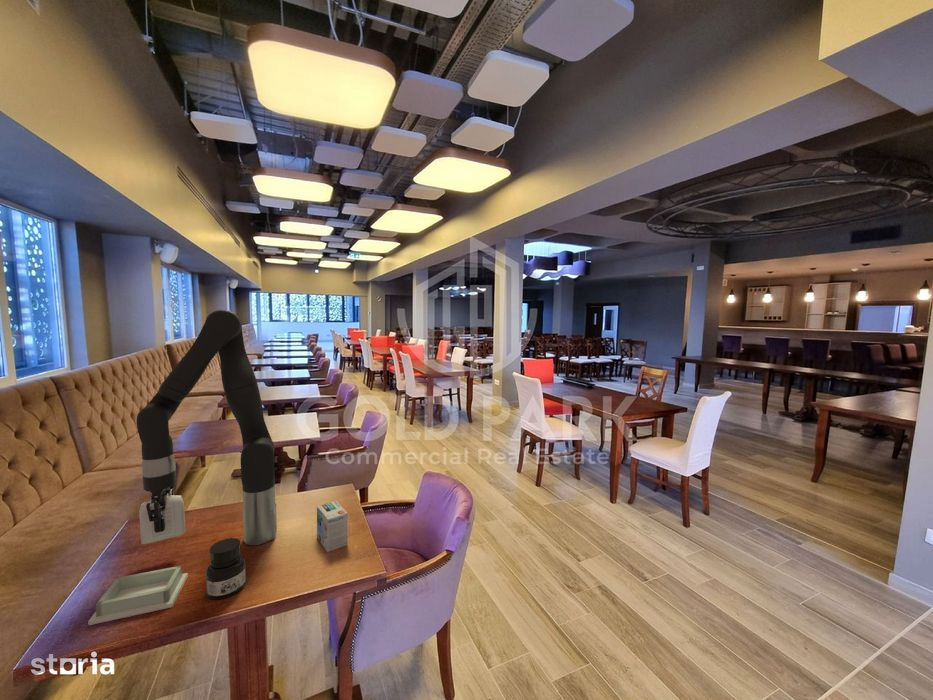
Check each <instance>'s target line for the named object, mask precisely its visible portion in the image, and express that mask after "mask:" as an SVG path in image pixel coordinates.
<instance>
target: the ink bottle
mask: <svg viewBox="0 0 933 700" xmlns="http://www.w3.org/2000/svg"><path fill="white" fill-rule="evenodd" d="M241 547H242V546H241V540H240V538H237V537H236V538H235V537H230V538H224V539H221V540H219V541H217V542H214V543H213V544H212V545H211V546H210V548H209V559H210V562H209V563H210V564H209V565H208V566H207V567H206V570H205V582H206V583H205V590H206V596H207V597H208V598H209V599H212V600H220V599H224V598H225V599H226V598H229V597H230V596H233V595H235V594H237V593H238V592H240V591H241V590H242V589H243V588H244V587H245V585H246V583H247V582H246V581H247V577H246V576H247V575H246V559H245V557H244V556H243V555H241V550H242V549H241Z"/></svg>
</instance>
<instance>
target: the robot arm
mask: <svg viewBox="0 0 933 700" xmlns="http://www.w3.org/2000/svg"><path fill="white" fill-rule="evenodd" d="M217 354H218V356H219V357H218V358H219V361H220V362H219V364H220V365H219V366H220V376H221V377H220V378H221V382H222V383H221V384H222V387H223V388H222V389H223V392H224V395H225V400H226V403H227V404H228V405H227V406H228V408H229V409H230V411H231V413H232V415H233V417H234V418H235V421H236V422H237V424H238V426H239V430H240V434H241V440H242V451H241V452H240V479H241V481H240V482H241V484H242V485H241V486H242V519H243V542H244V544H245V545H248V546H259V545H263V544H265V543H268V542H270V541H272V540H276V535H277V503H276V483H275V482H276V479H275V478H276V477H275V444H274V441H273V439H272V436H271V435H270V432H269V429H268V426H267V425H266V421H265V417H264V412H263V404H262V399H261V393H260V389H259V385H258V382H257V381H258V380H257V377H256V374H255V372H254V370H253V366H252V364H251V361H250V359H249V357H248V354H247V351H246V346H245V342H244V334H243V323H242V320H241V318H240V316H238V314H237V313H235V312H233V311H231V310H227V309H216V310H213V311H212V312H211V313H209V314H208V315H207V316H206V319H205V321H204V323H203V326H202V327H201V330H200V332H199V334H198V335H197V338H195V341H194V342H193V344H192V345H191V347H190V348H189V349H188V350H187V352H186V353H185V354H184V355H183V357H182V358H181V359H180V361H178V362H177V364H176V365H175V367H173V369H171V371H170V372H169V374H168V375H167V377H165V379H164V380H163V382H162V383H161V385H160V386H159V388H158V391H156V393H155V394H154V395H153V397H152V398H151V399H150V401H149V402H148V403H147V404H146V406H144V407H143V408H142V409H141V410H139V412H138V413H137V414H136V415H137V416H136V429H137V433H138V437H139V439H140V443H141V459H142V460H141V461H142V462H141V473H142V474H141V476H142V486H143V487H142V488H143V491H146V492H149V493H151V495H150V497H149V500H150V502H151V503H147V505H146V508H147V512H148V517H149V521H150V522H152V521H154V530H155V532H156V533H157V532H163V531H164V530H165V522H164V511H165V510H166V509H167V499H168V496H170V495H175V485H176V483H177V470H176V469H177V467H176V458H175V454H174V443H173V438H172V436H171V435H170V429H169V427H170V426H169V422H170V420H171V418H172V417H173V415H174V414H175V413H176V411H177V409H178V408H179V407H180V405H181V404H182V402H183V401H184V400H185V399H186V397H188V395H189V394H190V393H191V392H192V390H193V388H194V387H195V386H196V385H197V383H198V382H199V380H200V378H201V377H203V375H204V372H205V371H206V369H207V368H208V366H209V364H210V363H211V362H212V360H213V359H214V357H215V356H216V355H217ZM160 506H163V507H162V508H160ZM156 514H157V516H156Z"/></svg>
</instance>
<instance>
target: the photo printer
mask: <svg viewBox="0 0 933 700" xmlns="http://www.w3.org/2000/svg"><path fill="white" fill-rule="evenodd" d="M147 503H151V502H150V499H149V500H147V501H144V502H143V503H141V505H140V508H139V511H138V513H139V514H138V515H139V531H140V542H141V543H140V544H142V545H148V544H152V543H155V542H159V541H163V540H168V539H172V538H176V537H179V536H182V535H185V533H186V519H185V518H186V517H185V516H186V514H185V502H184V499H183V497H182V495H177V494H174V495H170V496H168V499H167V509H166V510H165V511H164V522H165V530H164V531H163V532H157V533H156V532H155V530H154V521H152V522H150V521H149V517H148V512H147V508H146V505H147ZM162 507H163V506H160V508H162ZM156 516H157V514H156Z"/></svg>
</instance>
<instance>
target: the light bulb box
mask: <svg viewBox="0 0 933 700" xmlns="http://www.w3.org/2000/svg"><path fill="white" fill-rule="evenodd" d="M316 537H317V539H318V541H319V542H320V544H321V545H322V546H323V548H324V550H325V551H326V552H327V553H329V552H332V551H334V550H337V549H340V548H342V547H345V546H348V512H347V511H346V510H345V509H344V507H343V506H341V504H340V503H339V502H338V501H337V500H333V501H331V502H328V503H324V504H321V505H318V506H316Z"/></svg>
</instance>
